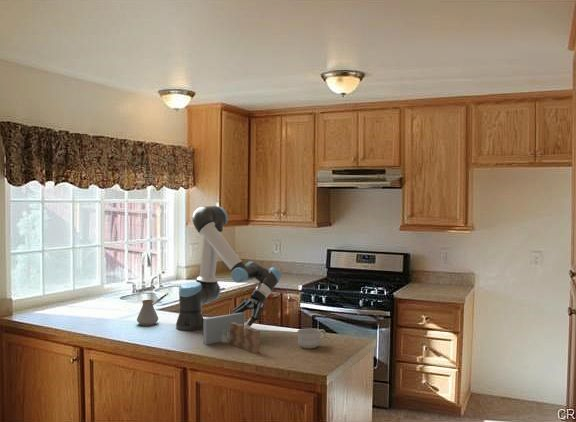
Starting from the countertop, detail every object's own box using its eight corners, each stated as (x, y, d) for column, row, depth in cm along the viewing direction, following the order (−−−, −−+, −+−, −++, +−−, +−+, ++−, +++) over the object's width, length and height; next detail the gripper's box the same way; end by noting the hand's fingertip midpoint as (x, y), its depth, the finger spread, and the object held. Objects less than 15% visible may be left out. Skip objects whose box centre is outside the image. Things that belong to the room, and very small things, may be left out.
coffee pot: (146, 327, 292) (146, 299, 291) (132, 324, 298) (132, 297, 298) (176, 320, 310) (176, 293, 309) (161, 317, 316) (161, 291, 316)
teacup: (300, 350, 251) (300, 333, 250) (294, 344, 261) (294, 327, 261) (329, 349, 254) (329, 331, 254) (322, 342, 264) (323, 326, 264)
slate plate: (203, 343, 262) (203, 318, 262) (241, 336, 276) (241, 312, 276) (206, 344, 260) (206, 319, 260) (244, 337, 274) (244, 313, 274)
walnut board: (230, 343, 262) (230, 322, 262) (234, 342, 263) (234, 322, 263) (255, 353, 246) (255, 331, 246) (259, 352, 248) (259, 330, 248)
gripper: (279, 302, 273) (255, 337, 264) (250, 295, 292) (226, 327, 283) (271, 292, 270) (246, 327, 261) (242, 286, 289) (217, 318, 280)
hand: (236, 327), depth 272 cm, fingers open, 13 cm apart
